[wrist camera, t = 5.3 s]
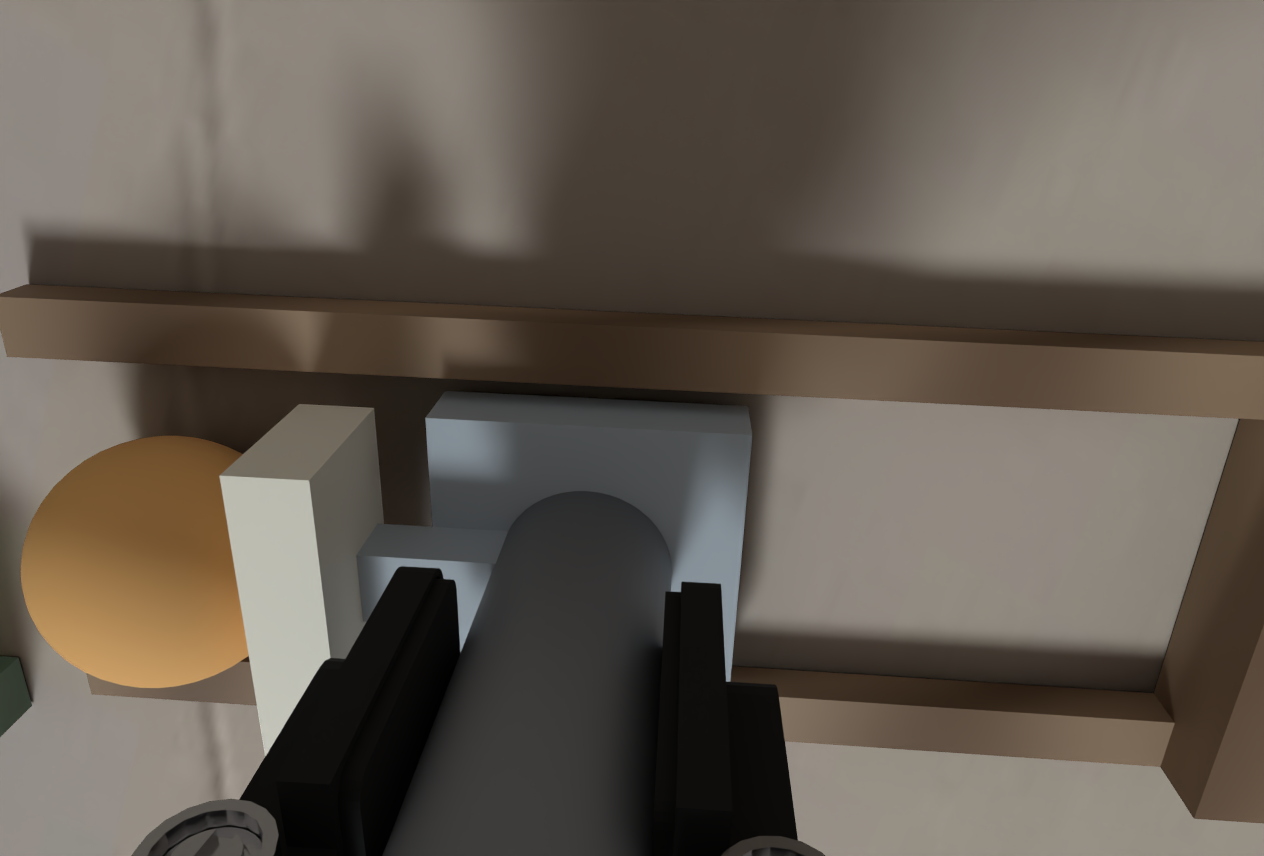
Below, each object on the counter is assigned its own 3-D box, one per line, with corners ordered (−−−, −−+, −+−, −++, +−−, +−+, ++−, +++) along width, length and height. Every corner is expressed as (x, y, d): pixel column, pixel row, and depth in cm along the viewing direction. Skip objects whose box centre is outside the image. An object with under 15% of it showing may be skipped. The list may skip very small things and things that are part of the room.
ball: (285, 487, 13) (-51, 524, 11) (315, 715, 14) (23, 768, 13) (289, 389, 16) (32, 411, 15) (313, 581, 18) (82, 614, 16)
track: (1343, 345, 14) (1442, 390, 12) (1205, 740, 17) (1267, 823, 15) (26, 284, 15) (-67, 316, 13) (116, 667, 18) (50, 738, 16)
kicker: (747, 406, 15) (875, 1236, 4) (726, 658, 17) (779, 1642, 6) (320, 384, 15) (-488, 1110, 5) (348, 634, 17) (-185, 1532, 7)
